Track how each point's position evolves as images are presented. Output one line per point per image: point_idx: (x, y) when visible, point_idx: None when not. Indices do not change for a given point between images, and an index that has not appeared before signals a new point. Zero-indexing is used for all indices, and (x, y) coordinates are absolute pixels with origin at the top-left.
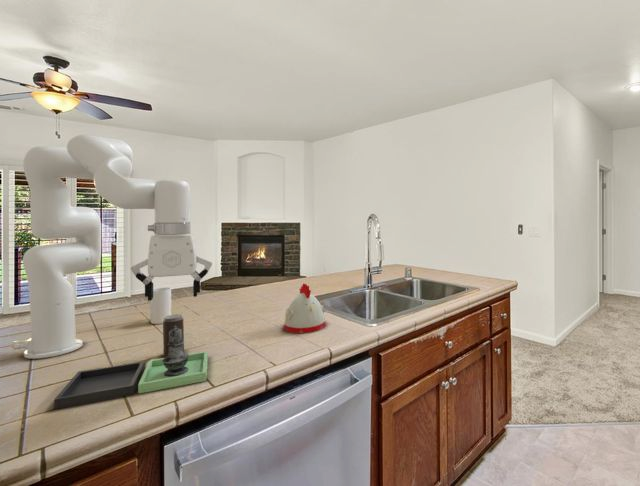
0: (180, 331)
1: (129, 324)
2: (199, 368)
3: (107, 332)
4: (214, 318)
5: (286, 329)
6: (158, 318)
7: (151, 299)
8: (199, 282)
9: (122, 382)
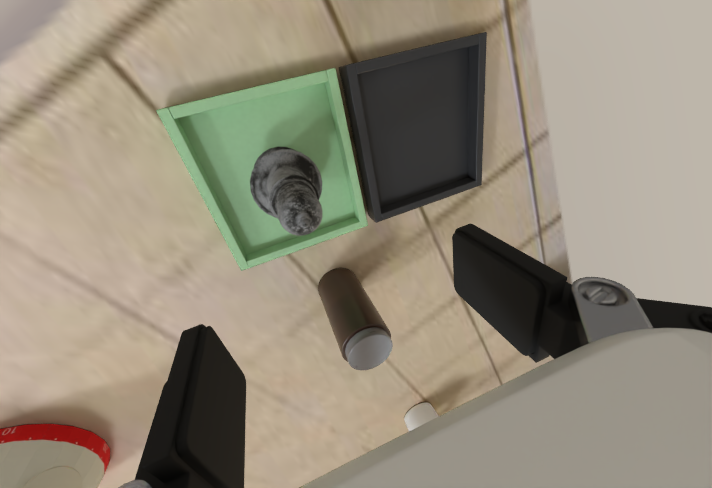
0: (279, 211)
1: (459, 393)
2: (225, 188)
3: (480, 364)
4: (328, 443)
5: (86, 433)
6: (423, 413)
7: (454, 234)
8: (141, 472)
9: (386, 137)
